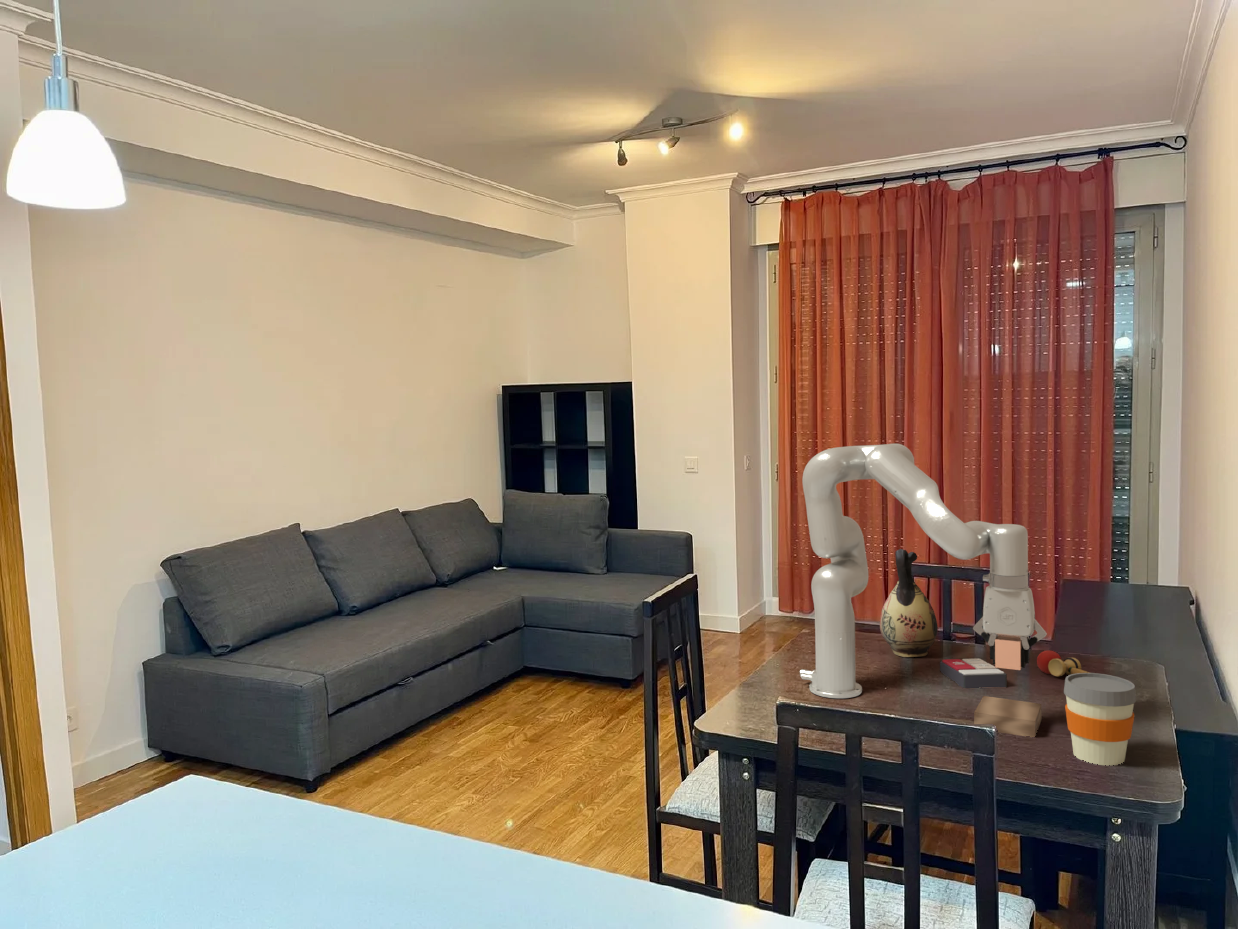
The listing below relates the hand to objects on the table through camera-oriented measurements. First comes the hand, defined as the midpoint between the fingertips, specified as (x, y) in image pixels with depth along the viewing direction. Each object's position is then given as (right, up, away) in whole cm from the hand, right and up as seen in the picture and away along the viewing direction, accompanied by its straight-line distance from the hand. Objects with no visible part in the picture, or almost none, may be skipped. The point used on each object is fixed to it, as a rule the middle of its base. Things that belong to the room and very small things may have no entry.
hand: (1009, 663), depth 194 cm
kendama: (+29, -11, +31) cm, 44 cm away
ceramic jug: (-4, -10, +56) cm, 57 cm away
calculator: (+5, -12, +33) cm, 35 cm away
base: (0, -14, +1) cm, 14 cm away
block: (0, 0, 0) cm, 0 cm away
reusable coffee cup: (+10, -15, -18) cm, 25 cm away
